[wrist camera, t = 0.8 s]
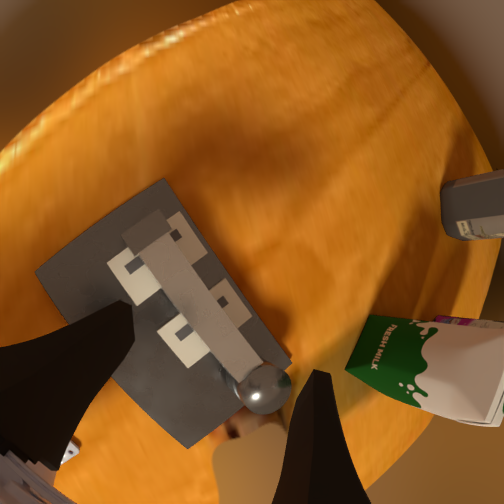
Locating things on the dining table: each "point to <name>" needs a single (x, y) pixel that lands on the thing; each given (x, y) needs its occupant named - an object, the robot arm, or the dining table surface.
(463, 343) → the milk carton
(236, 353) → the bar
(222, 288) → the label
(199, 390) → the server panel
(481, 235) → the liquor
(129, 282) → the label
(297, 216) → the dining table surface
